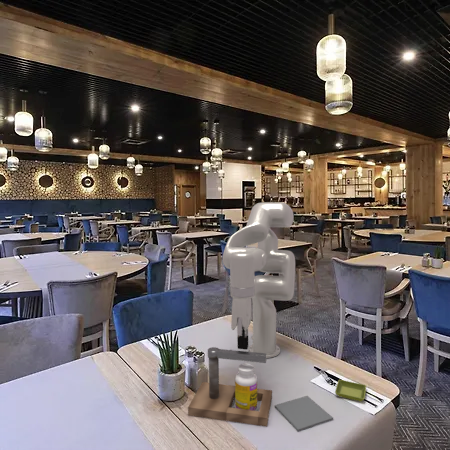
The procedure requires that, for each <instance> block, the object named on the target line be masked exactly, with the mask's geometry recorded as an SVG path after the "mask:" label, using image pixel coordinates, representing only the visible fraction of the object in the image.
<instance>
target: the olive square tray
mask: <svg viewBox="0 0 450 450" xmlns="http://www.w3.org/2000/svg"><path fill="white" fill-rule="evenodd" d="M366 392H367V385H366V384H363V383H357V382H352V381H349V380H345V379H343V380H342V379H338V381H337V384H336V387H335V391H334V393H335V394H336V395H337V397H339V398H344V399H348V400H352V401H356V402H359V403H360V402H364V400H365V398H366Z"/></svg>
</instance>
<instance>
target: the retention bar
mask: <svg viewBox="0 0 450 450" xmlns="http://www.w3.org/2000/svg"><path fill="white" fill-rule="evenodd" d="M207 358H208V359H209V358H210V359H217V358H219V359H221V360H222V359H223V360H230V361H240V362H241V361H244V362H251V363H260V364H261V363H262V364H266V363H267V359H268V358H267V353H257V352H249V351H244V350H234V349H223V348H218V347H216V346H215V347H214V346H213V347H209V348H208V349H207Z"/></svg>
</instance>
